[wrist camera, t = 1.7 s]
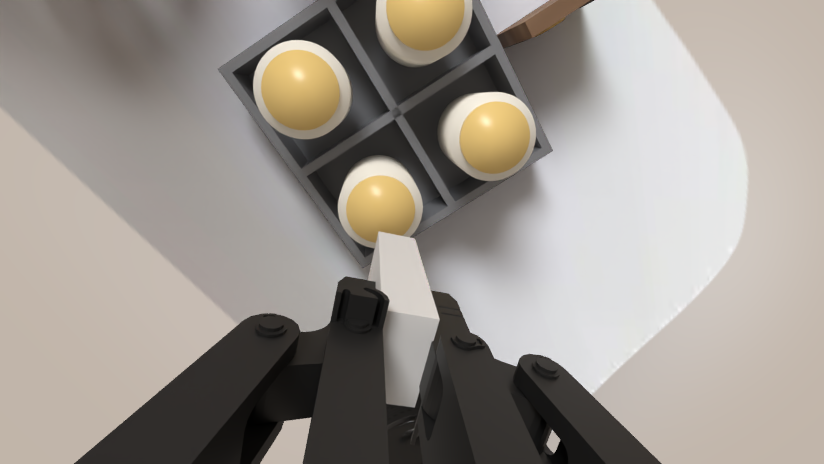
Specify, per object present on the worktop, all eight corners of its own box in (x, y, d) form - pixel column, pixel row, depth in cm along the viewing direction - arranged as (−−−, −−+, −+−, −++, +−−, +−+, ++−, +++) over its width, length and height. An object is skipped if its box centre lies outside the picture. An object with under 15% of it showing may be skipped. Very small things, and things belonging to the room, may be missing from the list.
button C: (328, 180, 29) (319, 198, 23) (389, 141, 28) (394, 150, 23) (368, 237, 30) (368, 265, 25) (427, 201, 30) (439, 222, 25)
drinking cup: (362, 308, 37) (354, 535, 18) (448, 304, 37) (529, 519, 18) (365, 381, 39) (360, 650, 20) (445, 376, 40) (514, 632, 21)
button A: (257, 78, 26) (230, 74, 21) (323, 34, 26) (311, 18, 21) (305, 146, 28) (290, 157, 23) (367, 105, 27) (367, 107, 22)
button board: (239, 73, 30) (217, 69, 26) (428, -57, 28) (438, -84, 24) (363, 247, 35) (362, 268, 31) (529, 144, 33) (552, 150, 29)
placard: (491, 38, 31) (525, 21, 24) (574, -17, 30) (632, -49, 23) (499, 53, 31) (533, 41, 24) (581, -1, 30) (640, -28, 24)
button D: (423, 119, 28) (435, 124, 23) (487, 78, 28) (514, 73, 22) (459, 181, 29) (478, 198, 24) (520, 142, 29) (552, 152, 24)
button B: (359, 9, 26) (356, -13, 20) (428, -38, 25) (443, -72, 20) (402, 83, 27) (409, 79, 22) (468, 39, 27) (491, 26, 22)
